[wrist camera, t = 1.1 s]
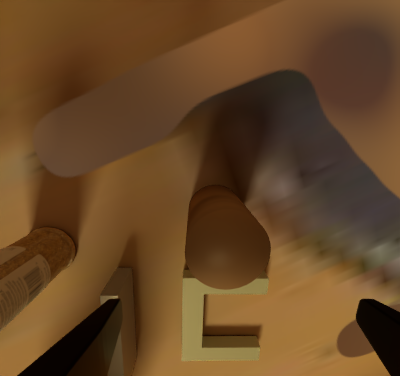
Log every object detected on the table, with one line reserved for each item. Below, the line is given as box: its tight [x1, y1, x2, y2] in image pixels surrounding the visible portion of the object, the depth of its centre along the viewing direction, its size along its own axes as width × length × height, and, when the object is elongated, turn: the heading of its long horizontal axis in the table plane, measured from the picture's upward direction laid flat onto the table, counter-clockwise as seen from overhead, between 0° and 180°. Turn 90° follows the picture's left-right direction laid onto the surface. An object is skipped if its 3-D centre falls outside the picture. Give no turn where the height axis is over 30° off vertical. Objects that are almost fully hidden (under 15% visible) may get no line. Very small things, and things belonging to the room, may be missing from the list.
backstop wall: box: [100, 268, 137, 376], centre depth 18 cm, size 11×1×4 cm, turn 178°
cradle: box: [182, 270, 269, 361], centre depth 19 cm, size 10×8×1 cm
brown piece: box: [185, 185, 271, 290], centre depth 14 cm, size 5×5×7 cm
